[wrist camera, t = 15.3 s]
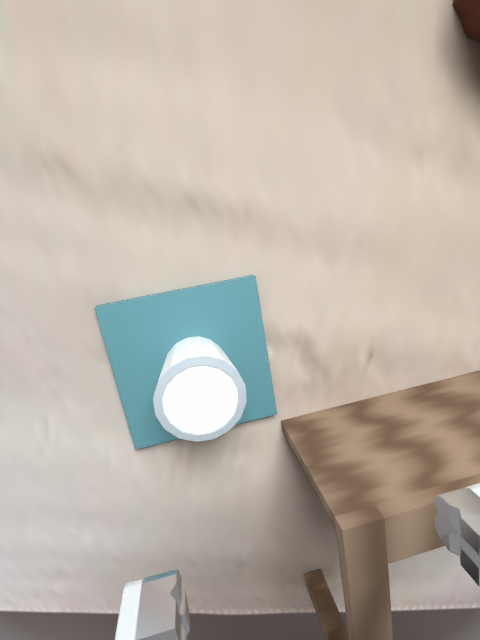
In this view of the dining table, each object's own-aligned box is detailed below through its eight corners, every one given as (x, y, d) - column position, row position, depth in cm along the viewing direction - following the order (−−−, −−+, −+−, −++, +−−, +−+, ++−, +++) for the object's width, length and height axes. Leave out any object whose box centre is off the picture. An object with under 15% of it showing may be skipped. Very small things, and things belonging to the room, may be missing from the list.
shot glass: (171, 409, 33) (170, 455, 26) (146, 342, 31) (138, 373, 24) (240, 386, 33) (257, 425, 27) (221, 320, 31) (233, 344, 25)
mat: (253, 274, 32) (255, 276, 31) (274, 409, 36) (277, 414, 35) (97, 305, 30) (94, 307, 29) (136, 443, 34) (135, 449, 33)
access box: (538, 355, 40) (719, 416, 27) (527, 515, 46) (670, 630, 33) (281, 420, 36) (342, 530, 23) (306, 586, 42) (366, 749, 29)
